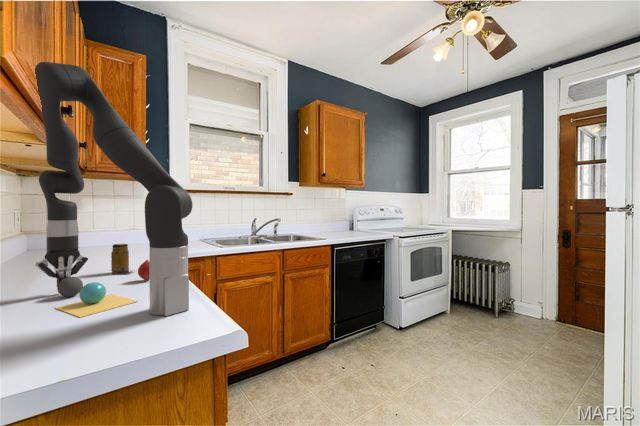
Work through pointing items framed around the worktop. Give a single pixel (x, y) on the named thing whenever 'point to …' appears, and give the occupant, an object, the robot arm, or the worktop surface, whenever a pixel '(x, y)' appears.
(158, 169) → the robot arm
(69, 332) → the worktop surface
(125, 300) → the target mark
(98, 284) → the object ball
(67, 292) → the dark gray ball
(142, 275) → the onion
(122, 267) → the condiment
